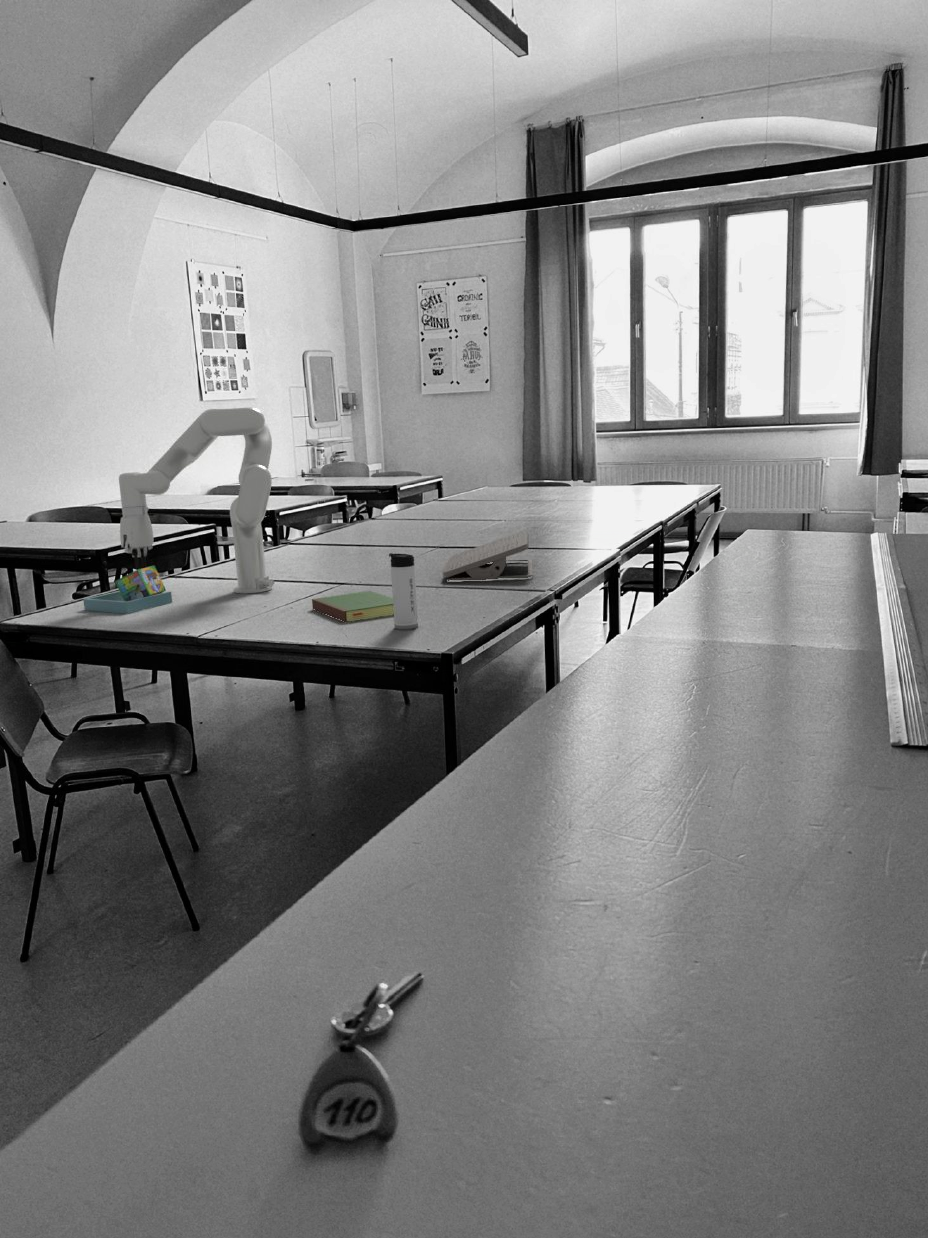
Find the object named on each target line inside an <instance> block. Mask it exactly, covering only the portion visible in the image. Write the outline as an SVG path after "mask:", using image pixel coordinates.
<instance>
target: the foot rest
mask: <svg viewBox="0 0 928 1238" xmlns="http://www.w3.org/2000/svg"><path fill="white" fill-rule="evenodd" d="M529 537H530V535H529V532H528V530H522V531H519V532H516V533H513V534H511V535H508V536H505V537H503V538H499V539H497V540H493V541H491V542H488V543H485V544H482V545H479V546H476V547H473V548H470V549H468V550H465V551H462V552H459V553H456V554H454V555H451V556H450V557H449V558H448V559H447V562H446V563H445V566H444V568H443V570H442V576H443V578H444V579H445V578H446V580H445V581H447V580H448V581H449V580H486V579H498V578H528V577H531V576H532V577H533V560H532V559H530V558H529V559H527V558H526V559H525V558H524V559H523V558H522V559H521V558H519V559H507V557H510V556H513V555H516V554H518V553H522V552H524V551H527V550H528V549H529V547H530V545H529V544H530V543H529V541H530V538H529ZM506 561H528V564H527V574H523V575H522V574H521V575H520V574H519V575H518V574H517V575H501V574H502V573H503V572H504V570H505V568H506V565H507V564H506ZM490 562H493V563H492V565H488V566H486V565H485V564H487V563H490ZM482 566H486V567H482ZM496 567H498V568H499V569H497V568H496ZM464 572H465V573H466V574H467V575H469V576H468V577H467V576H466V577H452V576H455V575H458V574H461V573H464Z"/></svg>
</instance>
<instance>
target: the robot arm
mask: <svg viewBox="0 0 928 1238" xmlns="http://www.w3.org/2000/svg"><path fill="white" fill-rule="evenodd" d="M265 421H266V420H265V415H264V414H263V412H262V411H261V410H259V409H258V408H256V407H251V406H250V407H237V408H236V407H235V408H210V409H206V410H204V411H203V412H202V413H200V415H198V417H197V418H196V419H195V420H194V421H193V422H192V423H191V424H190V426H188V428H187V429H185V431H184V432H183V433H182V434H181V435H180V436H179V437H178V438H177V439H176V440H175V442H174V443H173V444H172V445H171V446H170V448H169V449H168V450H167V451H166V452H164V454H163V455H162V456H161V457H160V458H159V459H158V460H157V461H156V462H155V464H153V466H152V467H151V468H150V469H149V470H148V471H147V472H145V473H144V472H143V473H141V472H125V473H121V474H119V476H118V484H119V492H120V504H121V512H122V517H120V524H119V537H120V546H121V549H122V548H123V549H124V553H127V554H130V555H131V556H132V558H134V565H135V566H134V567H135V570H138V569H143V568H146V567H147V561H146V560H147V559H146V557H147V555H148V552H149V551H150V550H152V549H153V547H154V546H153V544H154V539H155V538H154V532H153V526H152V522H151V519H150V515H149V514H148V511H149V507H148V506H147V497H146V495H152V496H161V495H164V494H165V493H167V492H168V490H169V489H170V487H171V482H173V480H174V479H175V478H176V477H177V476H178V475H179V474H180V473H181V472H182V471H183V470H184V469H185V468H187V467H188V466H190V465H191V464H193V463H194V462H196V461H197V460H198V459H199V458H200V457H201V456H202V455H203V454H204V452H206V450H207V449H208V448H209V447H210V446H211V445H212V444H213V443H214V442H215V440H217V439H218V437H229V436H230V437H231V436H232V437H233V436H234V437H235V436H243V437H244V438H243V439H244V442H245V443H244V444H245V445H244V446H245V447H244V452H243V458H242V460H241V461H242V462H241V465H240V470H239V473H238V477H237V478H238V479H237V480H238V483H239V486H240V487H239V492H238V496H237V497H236V498H234V500H232V503H231V504H230V508H229V517H230V523H231V528H232V530H231V531H232V537H233V547H234V557H235V558H234V559H235V567H236V570H235V571H236V578H237V579H236V581H237V586H235V587H234V588H233V592H234V593H237V594H257V593H263V592H268V591H271V590H272V588H273V585H275V582H276V581H275V580H274V579H273V580H272V579H270V577H269V575H267V572H266V561H265V547H264V537H263V527H262V521H263V520H264V518H265V515H266V512H267V508H268V503H269V499H270V494H271V488H272V483H273V481H272V475H271V472H270V471H269V465H270V460H271V454H272V448H273V447H272V446H273V441H272V435H271V432H270V429H269V427H268V425H267V423H266V422H265Z"/></svg>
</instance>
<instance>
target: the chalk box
mask: <svg viewBox="0 0 928 1238" xmlns="http://www.w3.org/2000/svg"><path fill="white" fill-rule="evenodd" d="M114 581H115V584H116V587H117V589H118V591H120V593H121V595H122V597H123V599H124V601H126V602H127V601H131V600H136V599H140V598H144V597H148V596H152V595H156V594H160V593H164V592H167V590H166V589H167V588H166V587H165V584H164V583H163V580H162V579H161V577H160V574H159V572H158V570H157V568H156V566H155V565H151V566H146V568H143V569H135V570H134V571H132V572H131V573H127V574H126V575H124V576H122V577H121V578H119V579H116V580H114Z"/></svg>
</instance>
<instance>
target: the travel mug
mask: <svg viewBox="0 0 928 1238" xmlns="http://www.w3.org/2000/svg"><path fill="white" fill-rule="evenodd" d="M388 557H389V558H390V568H391V569H390V575H391V576H390V577H391V589H392V598H393V609H394V615H393V621H394V625H393V626H394V629H396V630H399V631H402V630H403V631H406V630H413V628H414V629H417V628H418V627H419V620H418V619H419V617H418V603H417V602H418V601H417V599H418V598H417V583H416V569H415V556H414V555H412V554H410V553H409V554H407V553H393V552H392V553H391V552H390V553H389V554H388Z"/></svg>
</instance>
